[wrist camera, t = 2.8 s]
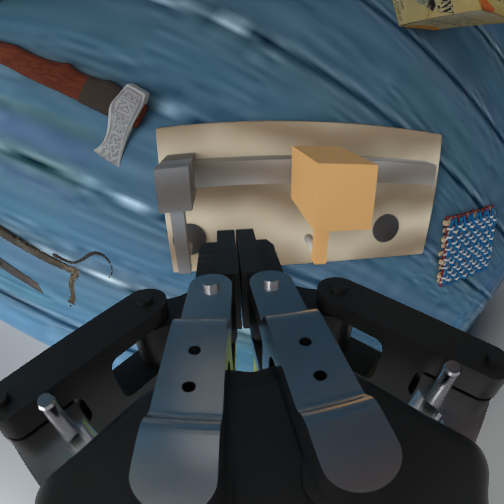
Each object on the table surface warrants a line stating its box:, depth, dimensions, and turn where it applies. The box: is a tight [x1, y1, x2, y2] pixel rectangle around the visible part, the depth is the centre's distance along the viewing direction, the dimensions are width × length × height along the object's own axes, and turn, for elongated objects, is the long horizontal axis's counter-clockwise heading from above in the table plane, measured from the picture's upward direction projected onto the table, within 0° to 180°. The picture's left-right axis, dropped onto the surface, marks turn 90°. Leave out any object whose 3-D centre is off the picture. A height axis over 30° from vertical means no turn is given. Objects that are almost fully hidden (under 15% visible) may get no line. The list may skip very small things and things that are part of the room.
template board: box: [154, 121, 442, 274], centre depth 26 cm, size 14×28×7 cm, turn 91°
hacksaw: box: [0, 226, 113, 307], centre depth 28 cm, size 24×10×2 cm, turn 55°
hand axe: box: [0, 42, 150, 167], centre depth 21 cm, size 27×2×10 cm
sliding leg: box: [291, 146, 378, 265], centre depth 23 cm, size 9×4×8 cm, turn 1°
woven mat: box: [437, 205, 497, 287], centre depth 34 cm, size 10×11×2 cm
